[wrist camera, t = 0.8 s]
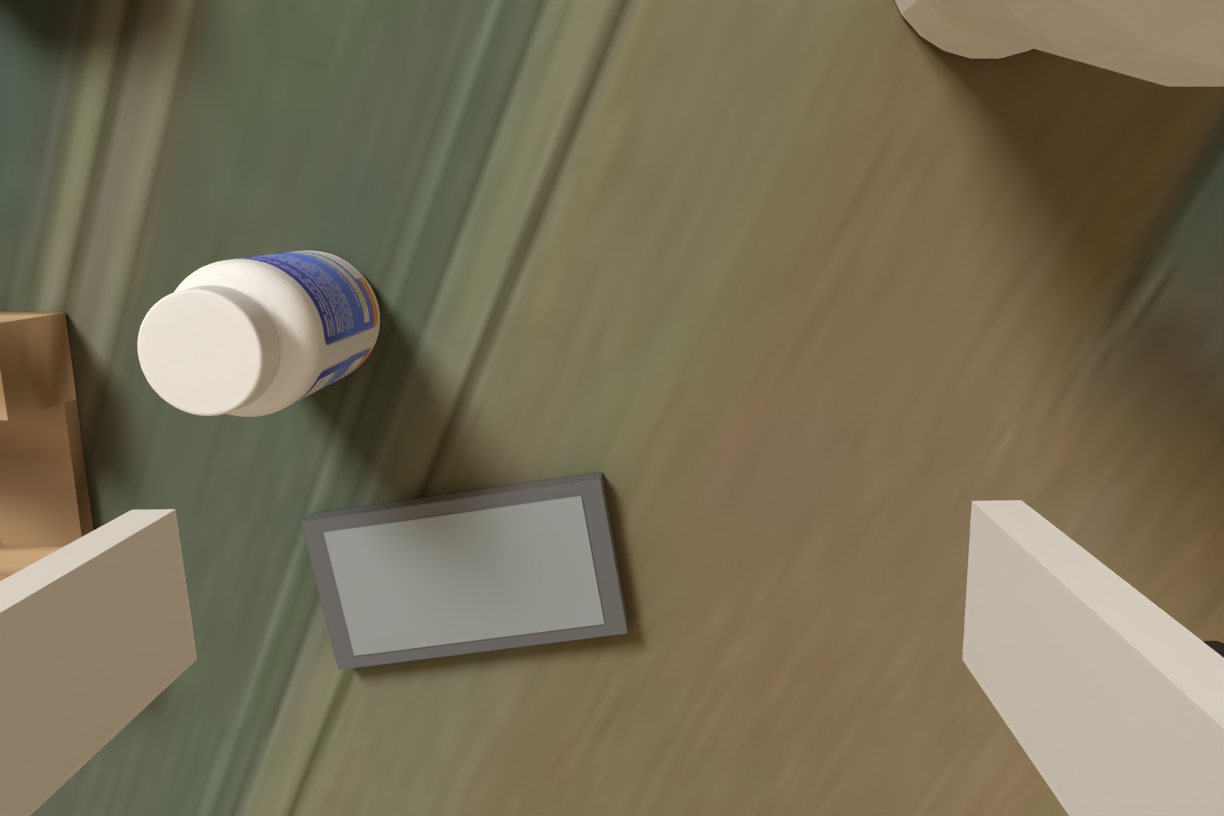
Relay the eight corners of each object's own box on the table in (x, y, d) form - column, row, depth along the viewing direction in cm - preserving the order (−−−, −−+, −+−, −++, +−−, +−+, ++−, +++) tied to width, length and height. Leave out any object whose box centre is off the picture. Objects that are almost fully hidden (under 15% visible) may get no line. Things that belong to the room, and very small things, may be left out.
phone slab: (310, 514, 38) (300, 522, 37) (601, 472, 37) (599, 479, 35) (346, 658, 39) (337, 670, 38) (628, 622, 38) (627, 634, 37)
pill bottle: (268, 235, 35) (122, 241, 26) (396, 269, 35) (296, 288, 26) (247, 361, 36) (100, 412, 27) (370, 395, 36) (266, 457, 27)
